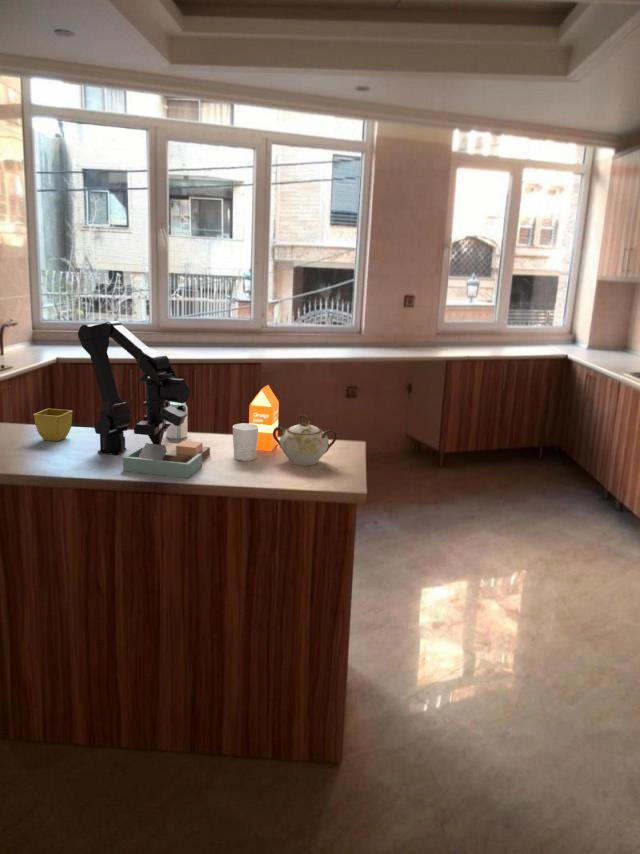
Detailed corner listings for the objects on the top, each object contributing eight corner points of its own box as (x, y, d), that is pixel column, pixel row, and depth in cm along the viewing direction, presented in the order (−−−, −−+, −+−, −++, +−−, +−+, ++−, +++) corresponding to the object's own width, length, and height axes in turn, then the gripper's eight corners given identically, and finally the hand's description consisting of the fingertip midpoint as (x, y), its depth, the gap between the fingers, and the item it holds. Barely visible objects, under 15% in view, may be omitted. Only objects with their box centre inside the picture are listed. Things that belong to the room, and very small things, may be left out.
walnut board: (144, 460, 197) (144, 452, 196) (161, 449, 208) (161, 441, 208) (196, 466, 194) (196, 458, 194) (209, 454, 206) (210, 447, 205)
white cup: (253, 462, 200) (254, 430, 198) (228, 459, 202) (229, 428, 199) (260, 455, 208) (261, 424, 205) (236, 452, 209) (237, 422, 207)
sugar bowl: (266, 466, 198) (267, 417, 194) (277, 452, 212) (278, 406, 209) (331, 472, 196) (334, 423, 192) (337, 458, 210) (340, 412, 206)
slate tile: (140, 463, 192) (137, 457, 190) (148, 449, 196) (146, 443, 194) (159, 466, 191) (157, 460, 189) (166, 451, 195) (165, 445, 193)
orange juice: (277, 443, 222) (279, 385, 217) (271, 451, 213) (273, 390, 208) (255, 441, 223) (256, 383, 218) (247, 448, 214) (249, 388, 209)
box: (123, 470, 187) (122, 457, 186) (139, 459, 197) (139, 447, 196) (188, 478, 184) (188, 464, 183) (201, 466, 194) (201, 453, 193)
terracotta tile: (176, 453, 197) (176, 445, 196) (183, 448, 202) (183, 440, 202) (195, 455, 196) (195, 447, 195) (202, 450, 201) (202, 442, 201)
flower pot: (34, 441, 210) (32, 413, 207) (49, 434, 218) (48, 407, 216) (59, 444, 208) (58, 416, 206) (74, 437, 217) (73, 410, 214)
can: (164, 434, 225) (164, 400, 222) (185, 434, 227) (185, 399, 224) (167, 440, 218) (167, 405, 215) (189, 439, 221) (189, 404, 218)
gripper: (170, 408, 181) (171, 462, 185) (194, 392, 198) (194, 442, 203) (131, 405, 182) (134, 458, 187) (158, 389, 200) (160, 438, 205)
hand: (157, 449), depth 195 cm, fingers closed, pressing on slate tile
